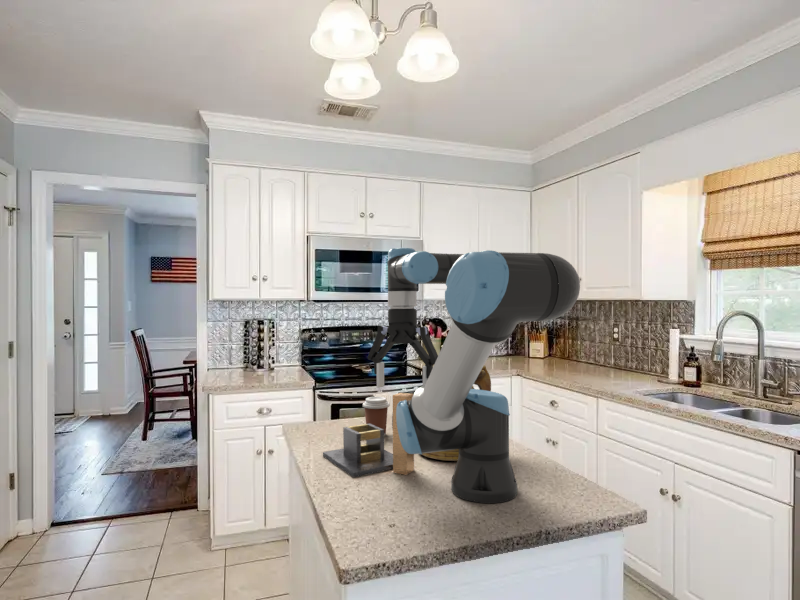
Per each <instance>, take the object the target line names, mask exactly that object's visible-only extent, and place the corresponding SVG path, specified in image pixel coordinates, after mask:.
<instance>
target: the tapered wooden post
mask: <svg viewBox="0 0 800 600" xmlns="http://www.w3.org/2000/svg"><path fill="white" fill-rule="evenodd" d="M413 395H414V393H407V392H398V393H395V394H392V412H393V427H392V454H393V469H392V472H393V473H395V474H399V475H405V476H407V475H409V474H410V473H412V472H413V471H415V454H408V453H407V452H406V451H405V450H404V449H403V447H402V444H401V442H400V438H399V434H398V429H397V421H396V408H397V404H398V403H399V402H400V401H404V400H407V401H408V400H411V399H412V397H413Z"/></svg>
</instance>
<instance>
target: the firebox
mask: <svg viewBox="0 0 800 600" xmlns="http://www.w3.org/2000/svg"><path fill="white" fill-rule="evenodd" d="M342 428H343V431H342V432H343V434H342V435H343V437H342V438H343V447H342V448H339V449H338V448H337V449H333V450H328V451H323V452H322V456H323V458H325V459H326V460H327V461H329V462H331V463H332V464H334V465H335V466H336V467H337V468H339V469H341V470H342V471H343V472H345V473H346V474H347V475H349V476H351V477H352V478H357V477H362V476H366V475H367V476H368V475H372V474H374V473H375V474H376V473H381V472H385V471H390V470H393V452H390V451H388V450H386V449H385V436H384V429H381V428H379V427H377V426H375V425H372V424H370V423H369V424H366V423H362V424H357V425H351V426H344V427H342ZM364 441H365V442H366V443H365V444H362V442H364Z"/></svg>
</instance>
